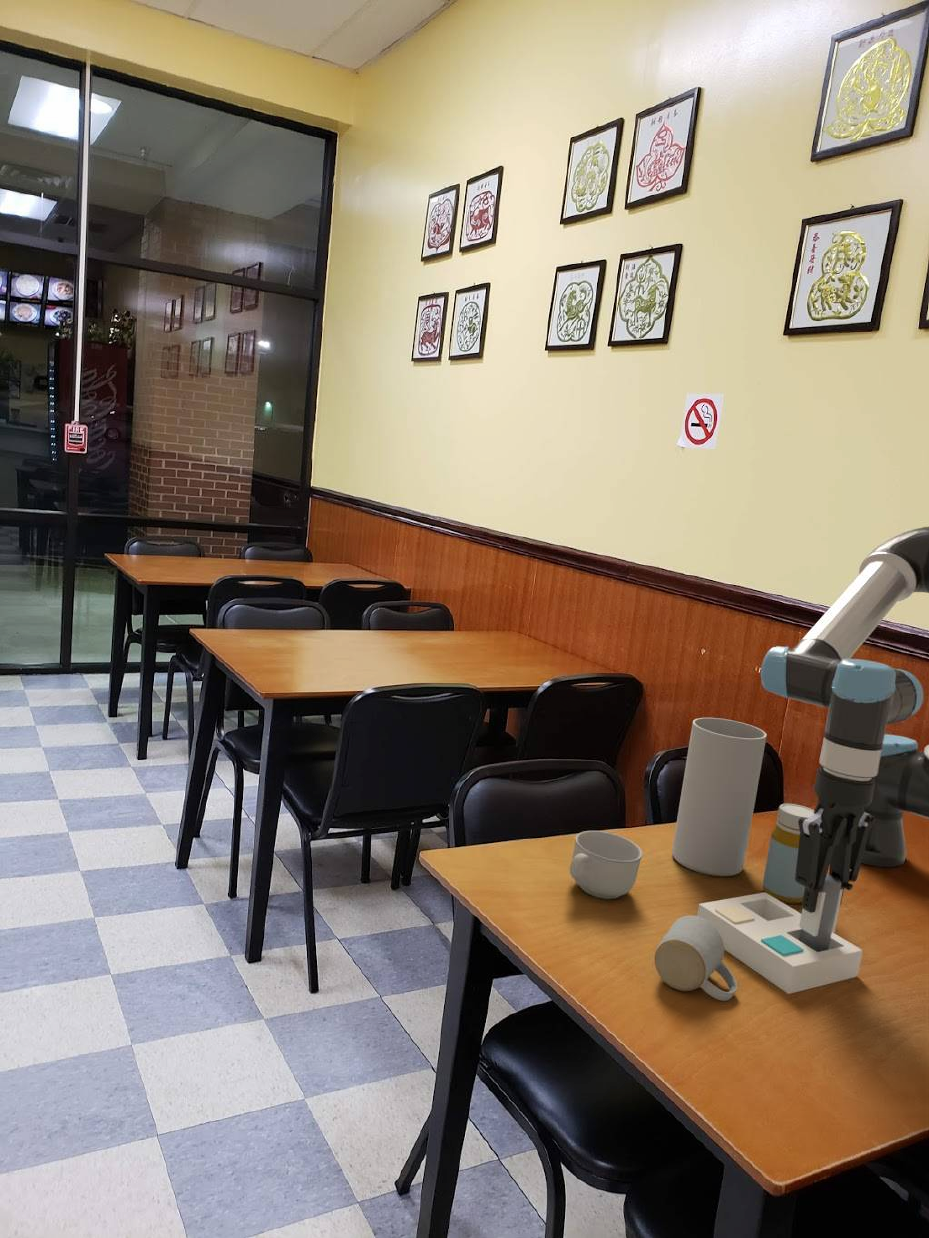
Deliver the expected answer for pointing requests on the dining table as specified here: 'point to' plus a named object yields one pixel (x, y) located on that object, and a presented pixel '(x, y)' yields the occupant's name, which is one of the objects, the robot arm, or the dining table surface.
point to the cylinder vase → (718, 796)
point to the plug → (824, 917)
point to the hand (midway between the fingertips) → (816, 929)
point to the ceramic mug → (693, 957)
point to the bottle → (785, 855)
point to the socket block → (778, 943)
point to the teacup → (605, 863)
